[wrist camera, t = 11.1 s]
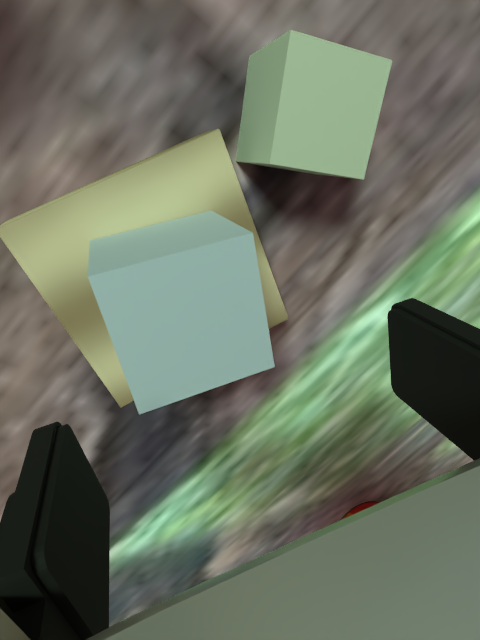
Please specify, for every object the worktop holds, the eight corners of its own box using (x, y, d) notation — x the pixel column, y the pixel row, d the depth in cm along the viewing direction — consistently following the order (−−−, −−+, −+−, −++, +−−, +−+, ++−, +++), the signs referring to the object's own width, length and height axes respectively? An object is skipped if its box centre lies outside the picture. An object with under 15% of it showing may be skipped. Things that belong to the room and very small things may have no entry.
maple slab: (269, 302, 26) (288, 318, 24) (118, 380, 25) (120, 407, 22) (204, 131, 21) (219, 128, 18) (8, 219, 20) (-6, 229, 17)
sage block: (314, 174, 23) (363, 179, 19) (235, 161, 22) (269, 163, 17) (333, 78, 22) (392, 60, 17) (248, 56, 20) (290, 29, 16)
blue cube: (232, 315, 22) (274, 366, 17) (128, 348, 21) (139, 414, 16) (211, 210, 20) (253, 232, 14) (89, 240, 18) (87, 276, 13)
